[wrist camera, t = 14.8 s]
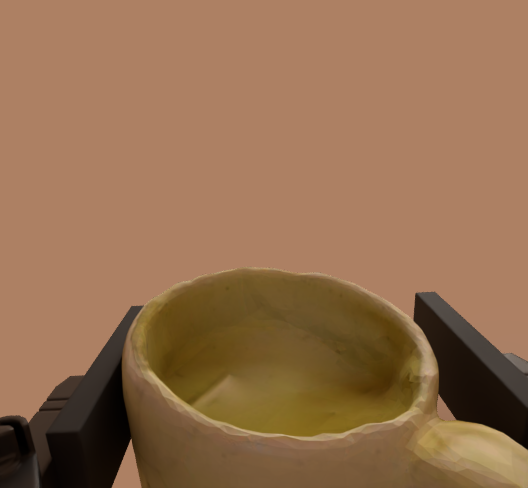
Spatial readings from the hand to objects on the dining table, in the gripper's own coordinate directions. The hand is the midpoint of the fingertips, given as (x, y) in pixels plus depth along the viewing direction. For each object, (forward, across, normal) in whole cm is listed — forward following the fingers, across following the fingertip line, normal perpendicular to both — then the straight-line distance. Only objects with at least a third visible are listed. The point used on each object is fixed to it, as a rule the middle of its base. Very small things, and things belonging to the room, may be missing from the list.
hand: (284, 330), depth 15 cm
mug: (-4, 0, -6) cm, 7 cm away
